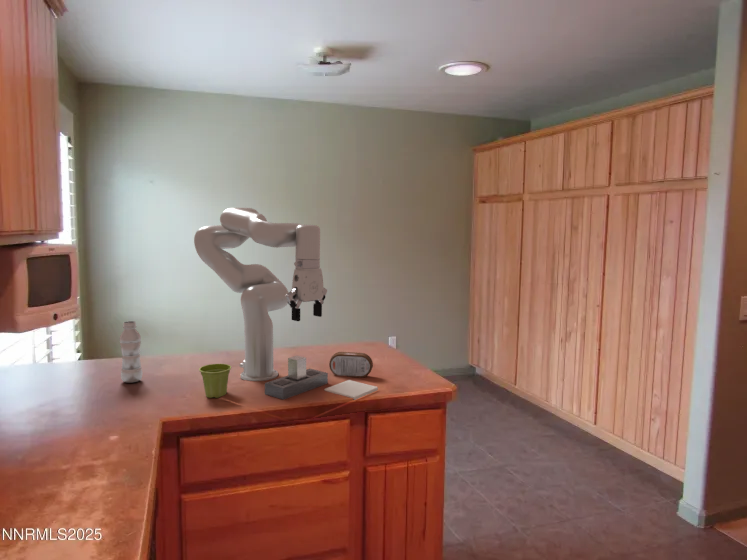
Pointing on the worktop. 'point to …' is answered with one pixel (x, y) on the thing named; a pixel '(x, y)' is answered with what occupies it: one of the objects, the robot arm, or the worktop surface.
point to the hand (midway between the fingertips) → (306, 318)
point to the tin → (351, 364)
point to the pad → (352, 389)
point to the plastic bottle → (130, 353)
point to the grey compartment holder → (295, 384)
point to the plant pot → (215, 379)
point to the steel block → (297, 368)
